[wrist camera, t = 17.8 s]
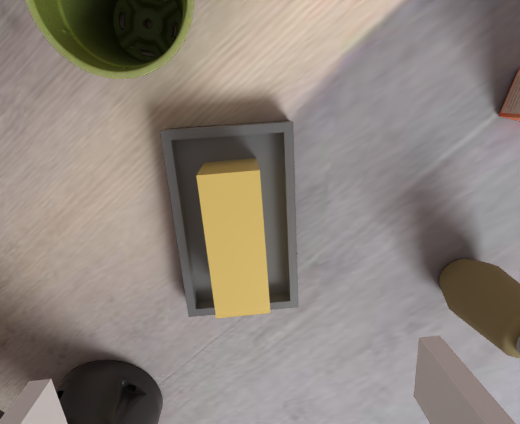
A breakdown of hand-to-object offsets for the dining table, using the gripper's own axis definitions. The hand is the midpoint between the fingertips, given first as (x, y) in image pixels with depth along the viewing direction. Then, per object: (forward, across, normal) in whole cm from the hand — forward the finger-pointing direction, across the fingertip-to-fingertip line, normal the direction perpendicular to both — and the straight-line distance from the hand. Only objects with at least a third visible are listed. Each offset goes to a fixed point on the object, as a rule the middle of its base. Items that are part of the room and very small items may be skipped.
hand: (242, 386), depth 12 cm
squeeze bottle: (+29, +29, -16) cm, 44 cm away
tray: (+29, -1, -4) cm, 30 cm away
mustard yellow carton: (+28, -1, -4) cm, 29 cm away
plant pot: (+30, -7, +18) cm, 35 cm away
